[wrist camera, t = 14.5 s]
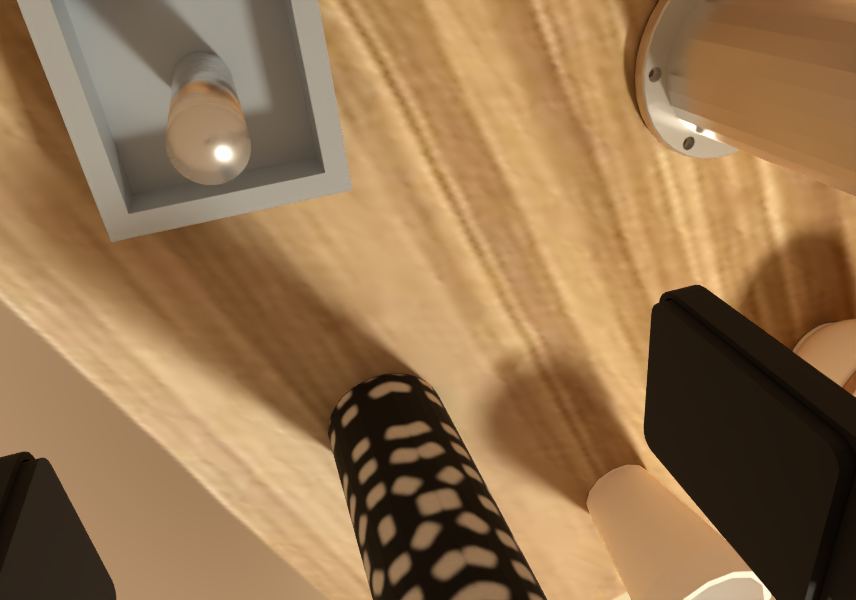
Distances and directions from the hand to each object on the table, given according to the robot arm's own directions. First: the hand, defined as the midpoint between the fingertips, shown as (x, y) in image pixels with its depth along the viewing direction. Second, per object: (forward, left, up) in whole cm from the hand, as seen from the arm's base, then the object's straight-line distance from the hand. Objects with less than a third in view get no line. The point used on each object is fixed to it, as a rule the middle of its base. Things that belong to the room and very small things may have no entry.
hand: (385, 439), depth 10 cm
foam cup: (-23, +39, -29) cm, 54 cm away
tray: (+2, -1, -29) cm, 29 cm away
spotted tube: (-4, +24, -29) cm, 38 cm away
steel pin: (+2, -1, -28) cm, 28 cm away
